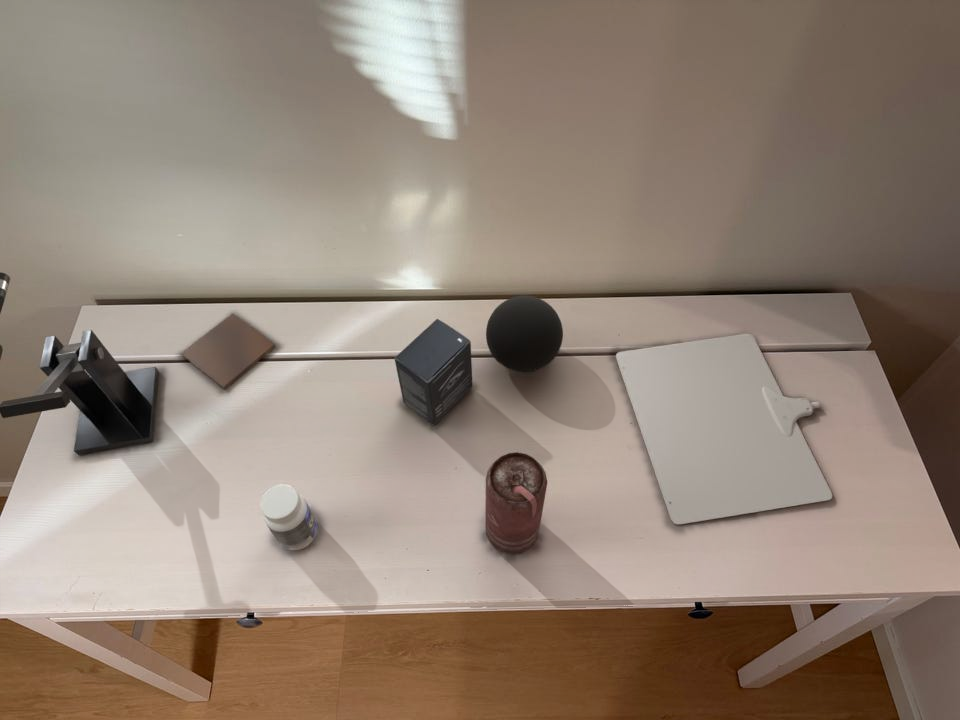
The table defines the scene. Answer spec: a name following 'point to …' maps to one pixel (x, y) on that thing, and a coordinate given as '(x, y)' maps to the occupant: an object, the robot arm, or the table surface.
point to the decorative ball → (524, 333)
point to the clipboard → (720, 429)
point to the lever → (47, 387)
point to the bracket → (106, 397)
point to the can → (514, 502)
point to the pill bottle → (288, 517)
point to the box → (435, 371)
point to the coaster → (228, 350)
